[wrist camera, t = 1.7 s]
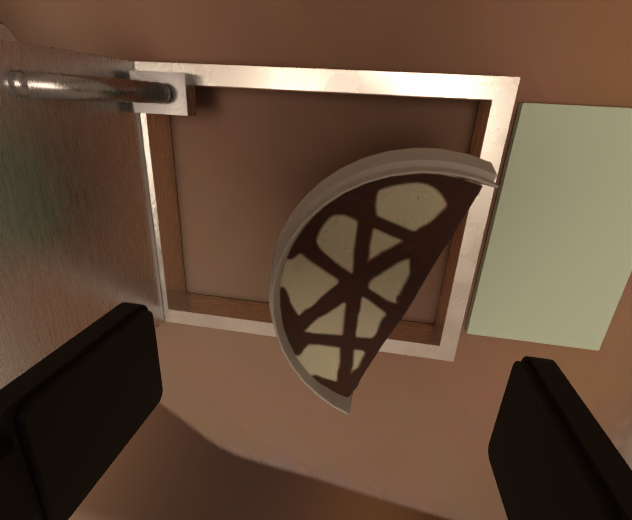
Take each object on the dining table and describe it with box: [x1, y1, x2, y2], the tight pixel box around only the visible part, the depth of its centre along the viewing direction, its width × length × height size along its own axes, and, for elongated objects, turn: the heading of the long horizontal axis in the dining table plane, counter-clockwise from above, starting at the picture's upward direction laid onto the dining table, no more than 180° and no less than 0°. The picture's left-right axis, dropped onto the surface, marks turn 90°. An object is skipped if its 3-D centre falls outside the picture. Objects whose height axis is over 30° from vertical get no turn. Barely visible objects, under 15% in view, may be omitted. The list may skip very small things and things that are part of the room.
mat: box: [465, 103, 632, 351], centre depth 21 cm, size 14×8×1 cm, turn 177°
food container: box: [269, 148, 498, 415], centre depth 19 cm, size 12×6×10 cm, turn 156°
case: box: [0, 39, 520, 389], centre depth 16 cm, size 16×23×16 cm
